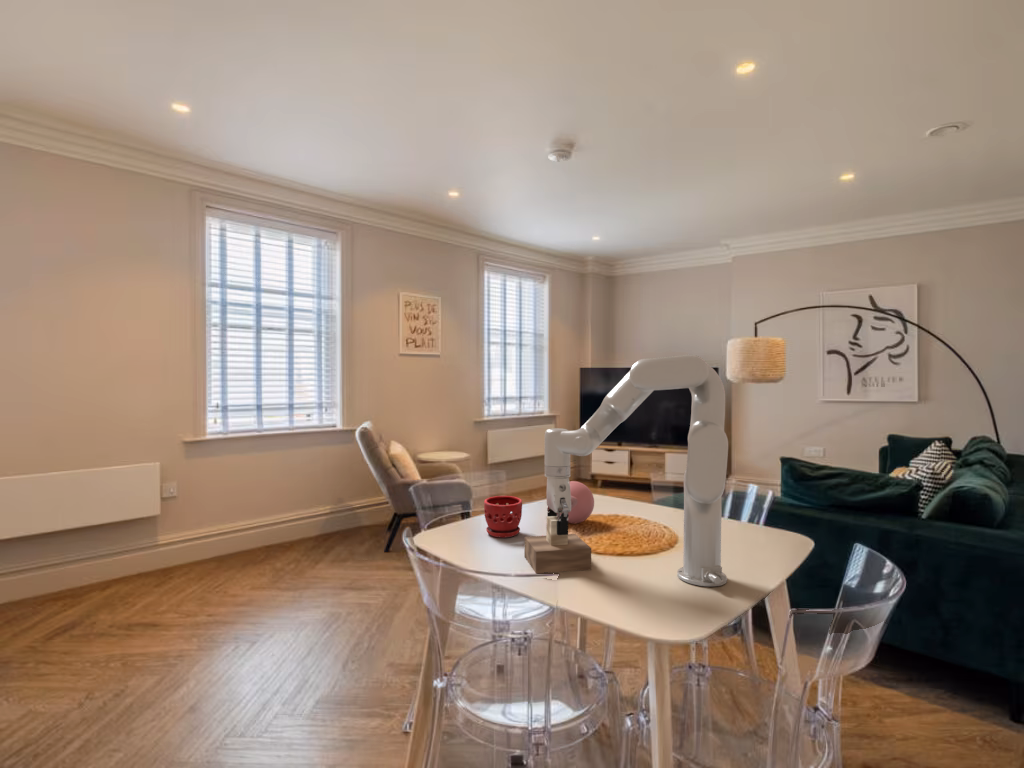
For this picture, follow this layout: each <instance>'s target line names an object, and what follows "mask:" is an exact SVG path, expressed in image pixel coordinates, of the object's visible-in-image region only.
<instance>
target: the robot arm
mask: <svg viewBox="0 0 1024 768" xmlns="http://www.w3.org/2000/svg"><path fill="white" fill-rule="evenodd" d="M679 389H689V392H690V394H691V409H690V410H691V414H690V423H689V425H690V426H689V430H688V433H687V457H686V467H685V471H684V474H683V560H682V561H683V562H682V563H683V567H680V568H679V569H677V577H678V578H679V579H680V580H681V581H683V582H685V583H688V584H690V585H695V586H698V587H699V586H700V587H710V588H711V587H720V586H723V585H725V584H727V582H728V576H727V574H725V573H724V572H723V567H722V516H723V515H722V497H723V496H722V495H723V494H724V492H725V489H726V480H727V479H726V478H727V470H728V469H727V468H728V457H729V455H728V454H729V439H728V436H727V433H726V432H725V421H726V420H725V419H726V392H725V386H724V383H723V381H722V379H721V377H720V375H719V374H718V372H717V371H716V370H715V369H714V368H713V367H712V366H711V365H709V364H708V363H707V361H706V360H704V359H703V358H702V357H701V356H698V355H694V354H684V355H676V356H675V355H673V356H666V357H654V358H653V357H652V358H640V359H638V360H637V361H636V362H634V363H633V364H632V365H631V368H630V370H629V371H628V372H627V373H626V374H625V375H624V376H623V377H622V379H621V380H620V381H619V382H618V383H617V384H616V385H615V386H614V387H613V388H612V389H611V390H610V391H609V392H608V393H607V394H606V395H605V397H604V398H603V400H602V402H601V404H600V406H599V407H598V408H597V409H596V411H595V412H594V413H593V414H592V416H590V417H589V418H588V420H586V422H585V423H584V424H583V425H581V427H580V428H578V429H575V430H569V429H567V428H561V427H560V428H557V427H556V428H555V427H553V428H547V429H546V430H545V432H544V477H545V478H547V479H546V506H547V508H546V509H547V510H546V511H547V512H546V513H547V516H557V517H558V521H557V535H568V534H569V523H568V516H569V515H568V512H570V511H571V492H570V482H569V481H570V477H571V456H577V457H585V456H589V455H590V454H592V453H593V452H594V451H595V450H596V449H597V448H598V447H599V446H600V445H601V444H602V442H604V441H605V440H606V439H607V437H608V436H610V434H611V433H612V432H613V431H614V430H615V429H617V427H618V426H619V425H620V424H621V423H623V422H625V421H626V420H627V419H628V418H629V417H630V416H631V415H632V414H633V413H634V412H635V410H637V409H638V407H640V405H642V403H643V402H644V401H645V400H646V399H647V398H648V397H649V396H650V395H651V394H652V393H653V392H654V391H666V390H679ZM562 509H563V510H562ZM560 513H562V514H561V516H560ZM547 516H546V517H547Z"/></svg>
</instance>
